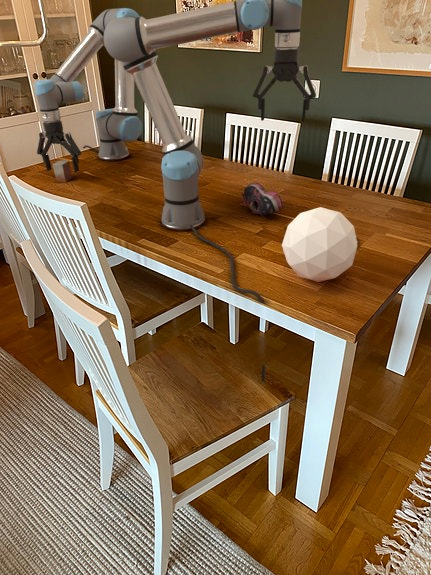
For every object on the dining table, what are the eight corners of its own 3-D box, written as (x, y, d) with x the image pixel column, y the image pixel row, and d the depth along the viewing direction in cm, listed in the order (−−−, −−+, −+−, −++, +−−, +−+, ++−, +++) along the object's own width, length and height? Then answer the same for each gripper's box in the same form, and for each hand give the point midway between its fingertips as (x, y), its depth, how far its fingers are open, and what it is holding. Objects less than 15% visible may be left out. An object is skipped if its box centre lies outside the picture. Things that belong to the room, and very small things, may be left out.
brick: (63, 177, 201) (59, 160, 197) (72, 178, 200) (69, 160, 196) (56, 181, 196) (52, 164, 192) (65, 182, 195) (62, 164, 191)
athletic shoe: (254, 181, 170) (227, 189, 167) (283, 176, 151) (253, 185, 147) (260, 210, 173) (234, 218, 170) (290, 209, 154) (261, 219, 150)
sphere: (325, 304, 123) (342, 278, 104) (265, 266, 127) (271, 234, 108) (360, 253, 127) (382, 220, 109) (301, 218, 132) (312, 180, 113)
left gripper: (20, 122, 184) (33, 172, 196) (74, 123, 179) (84, 174, 191) (30, 118, 191) (42, 166, 202) (83, 119, 185) (92, 169, 197)
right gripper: (244, 49, 136) (244, 121, 147) (327, 48, 131) (320, 123, 142) (248, 47, 142) (248, 116, 154) (328, 46, 137) (321, 118, 148)
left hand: (63, 170), depth 196 cm, fingers open, 13 cm apart
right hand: (282, 120), depth 148 cm, fingers open, 13 cm apart
